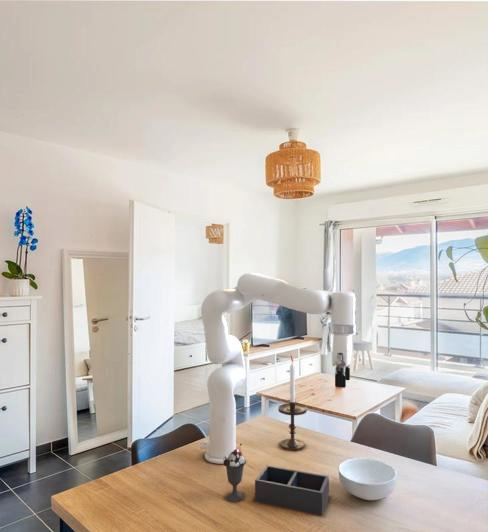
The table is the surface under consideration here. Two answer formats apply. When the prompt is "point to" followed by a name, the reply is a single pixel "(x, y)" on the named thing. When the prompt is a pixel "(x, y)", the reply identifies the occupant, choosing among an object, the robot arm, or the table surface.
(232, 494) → the sundae
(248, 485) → the table surface
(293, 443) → the candlestick
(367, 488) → the cereal bowl
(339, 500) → the table surface
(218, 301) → the robot arm
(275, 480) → the caddy
